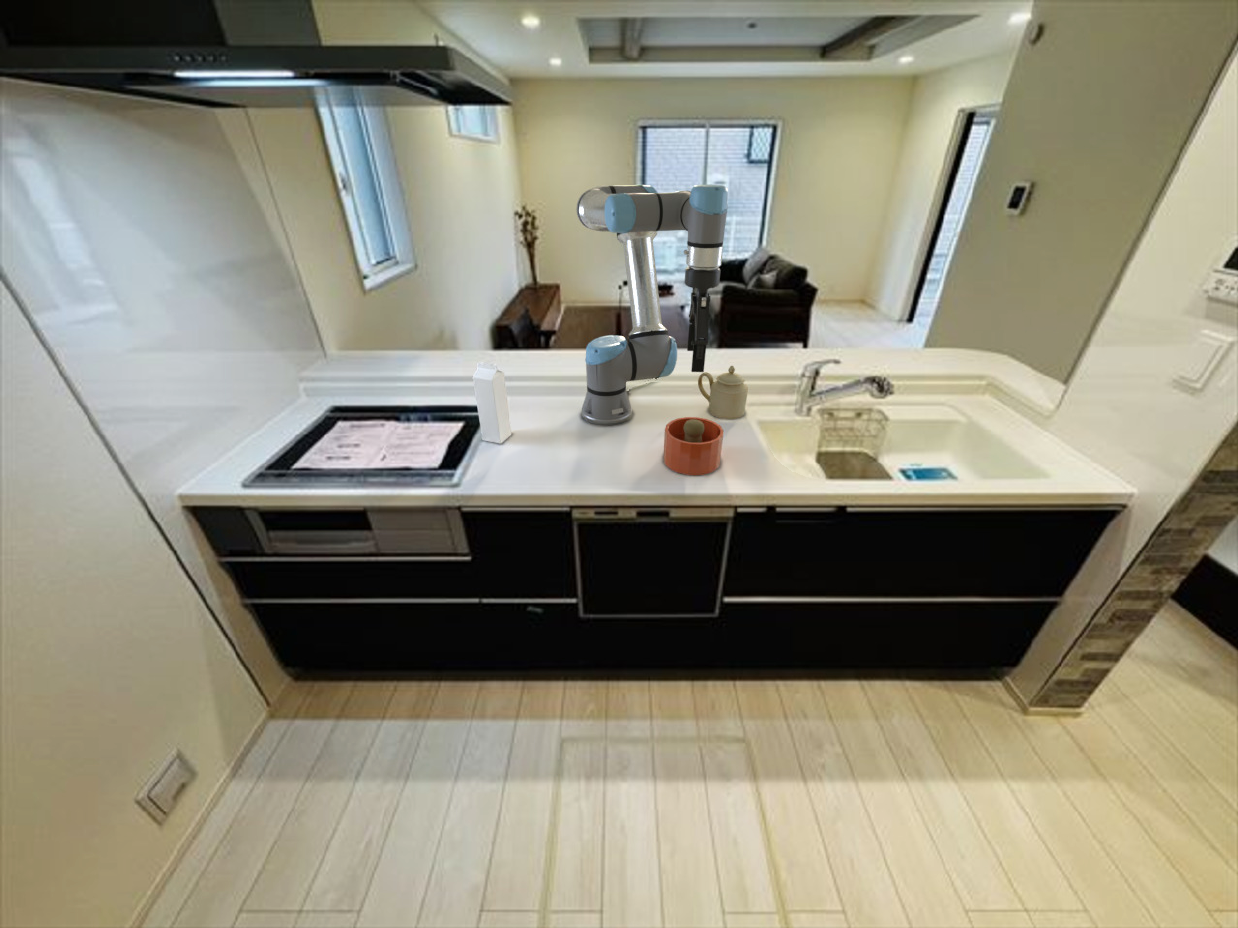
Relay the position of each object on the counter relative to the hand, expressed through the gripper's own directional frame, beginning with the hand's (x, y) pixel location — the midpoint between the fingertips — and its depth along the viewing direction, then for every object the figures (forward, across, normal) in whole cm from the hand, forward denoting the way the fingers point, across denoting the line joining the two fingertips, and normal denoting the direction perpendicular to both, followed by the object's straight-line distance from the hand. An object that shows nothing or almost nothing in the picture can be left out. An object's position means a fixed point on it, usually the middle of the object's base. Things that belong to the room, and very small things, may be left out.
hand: (695, 360), depth 122 cm
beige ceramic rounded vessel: (+27, -28, +12) cm, 41 cm away
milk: (+27, -9, -53) cm, 60 cm away
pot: (+27, +2, +1) cm, 27 cm away
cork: (+26, +2, +1) cm, 27 cm away
